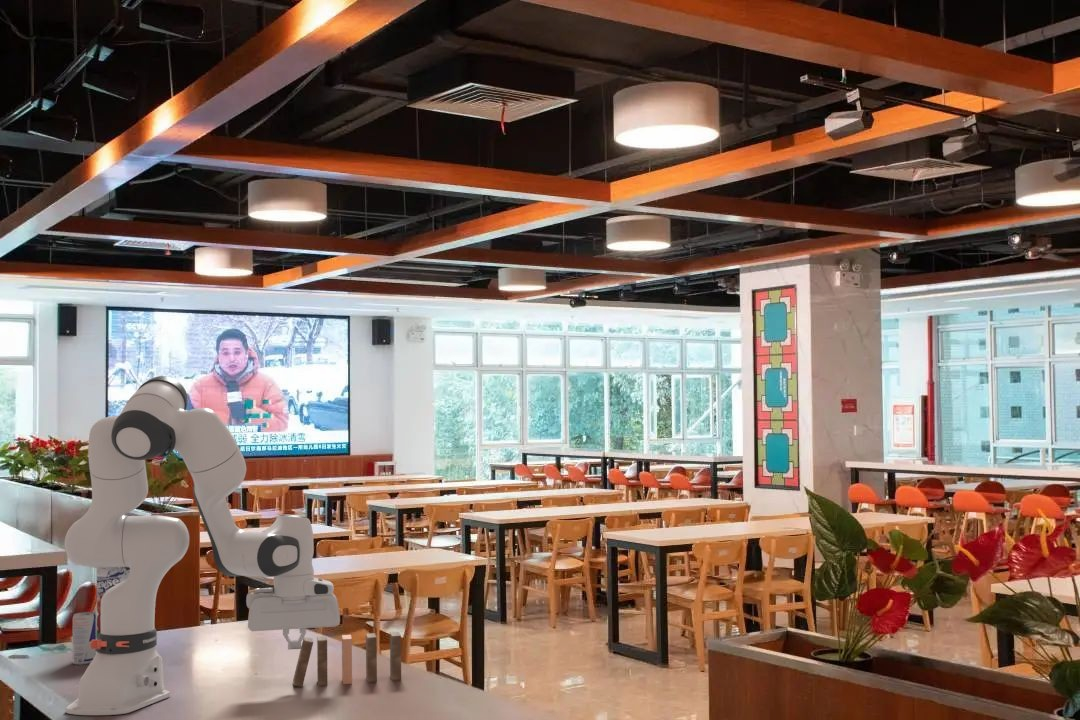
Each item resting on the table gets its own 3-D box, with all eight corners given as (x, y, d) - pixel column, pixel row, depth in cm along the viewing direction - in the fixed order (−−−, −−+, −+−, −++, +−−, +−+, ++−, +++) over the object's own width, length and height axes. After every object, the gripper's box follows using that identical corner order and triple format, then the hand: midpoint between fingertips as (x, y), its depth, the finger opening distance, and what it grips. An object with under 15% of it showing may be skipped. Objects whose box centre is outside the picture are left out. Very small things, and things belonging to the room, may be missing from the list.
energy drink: (99, 660, 281) (99, 611, 282) (88, 664, 276) (89, 615, 277) (79, 660, 282) (79, 611, 283) (68, 664, 277) (68, 615, 277)
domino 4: (368, 682, 253) (367, 637, 253) (366, 677, 257) (365, 633, 258) (377, 681, 253) (376, 637, 254) (375, 677, 258) (374, 633, 258)
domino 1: (293, 685, 249) (304, 640, 250) (292, 680, 254) (303, 636, 255) (302, 687, 249) (313, 642, 250) (301, 682, 254) (312, 638, 255)
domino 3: (343, 684, 252) (342, 639, 252) (342, 679, 256) (341, 635, 257) (352, 683, 252) (351, 638, 252) (351, 678, 257) (350, 634, 257)
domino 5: (392, 680, 254) (392, 636, 255) (390, 676, 259) (389, 632, 259) (401, 680, 255) (400, 635, 255) (399, 675, 259) (398, 631, 260)
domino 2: (318, 686, 250) (318, 640, 251) (317, 681, 255) (317, 636, 255) (327, 685, 251) (327, 640, 251) (326, 680, 255) (326, 636, 256)
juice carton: (123, 647, 297) (123, 544, 299) (145, 651, 291) (145, 546, 292) (92, 652, 290) (92, 547, 292) (113, 657, 284) (114, 550, 285)
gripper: (245, 591, 247) (246, 654, 246) (340, 586, 251) (340, 648, 251) (246, 586, 253) (247, 649, 252) (338, 582, 257) (339, 643, 257)
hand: (294, 648), depth 251 cm, fingers closed
